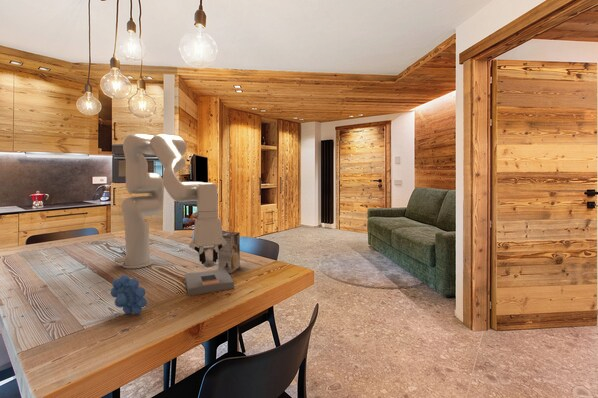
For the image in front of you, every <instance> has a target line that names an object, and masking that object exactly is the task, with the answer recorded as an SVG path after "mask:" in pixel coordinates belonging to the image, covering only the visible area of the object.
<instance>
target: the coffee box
mask: <svg viewBox="0 0 598 398" xmlns="http://www.w3.org/2000/svg"><path fill="white" fill-rule="evenodd" d="M222 235H223V237H224V239H225V240H226V242H227V244H225V245H224V246H223V247H222V248H221V249H220V250H219V252H218V260H217V261H218V262H217V264H218V265H217V266H218V270H220V269H226V270H227V272H228V273H231V274H232V273H233V272H235V271H236V270H237V269H239V267H240V266H241V259H240V258H241V257H240V255H241V253H240V250H241V249H240V248H241V245H240V243H241V242H240V240H241V239H240V232H234V231H226V232H224V233H222Z"/></svg>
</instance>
